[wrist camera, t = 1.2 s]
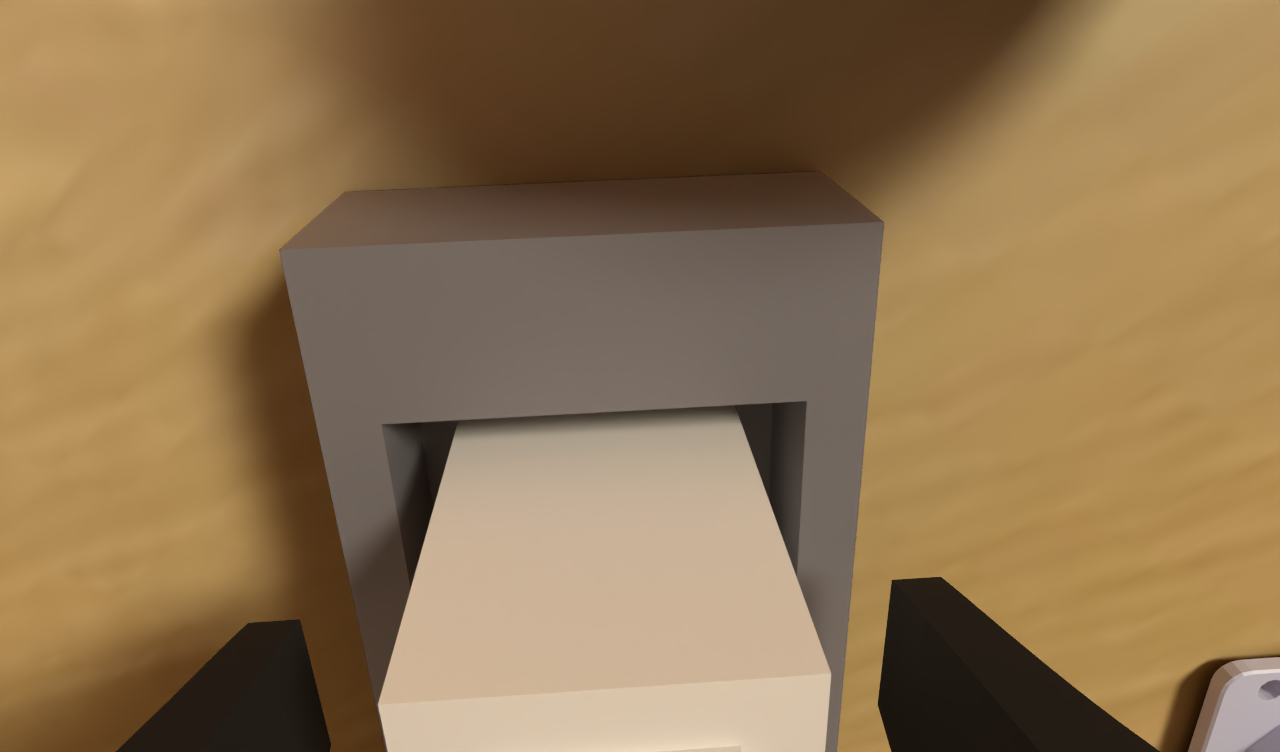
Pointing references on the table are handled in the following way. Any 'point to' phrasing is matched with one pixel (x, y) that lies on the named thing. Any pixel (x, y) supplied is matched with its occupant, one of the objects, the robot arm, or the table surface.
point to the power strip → (589, 349)
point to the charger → (605, 596)
